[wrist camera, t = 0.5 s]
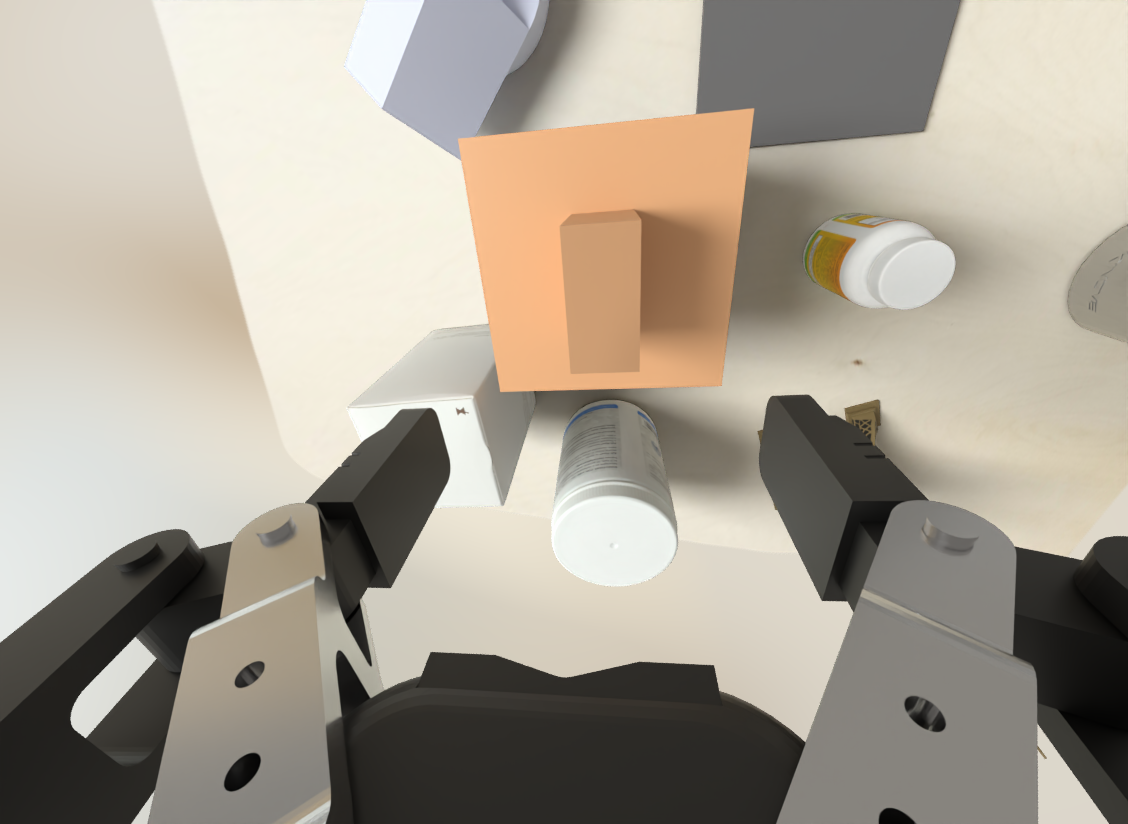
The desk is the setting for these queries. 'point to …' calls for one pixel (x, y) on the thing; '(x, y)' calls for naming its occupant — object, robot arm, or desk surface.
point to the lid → (609, 249)
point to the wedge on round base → (442, 59)
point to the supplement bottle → (878, 261)
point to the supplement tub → (613, 497)
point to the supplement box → (456, 411)
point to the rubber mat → (823, 65)
